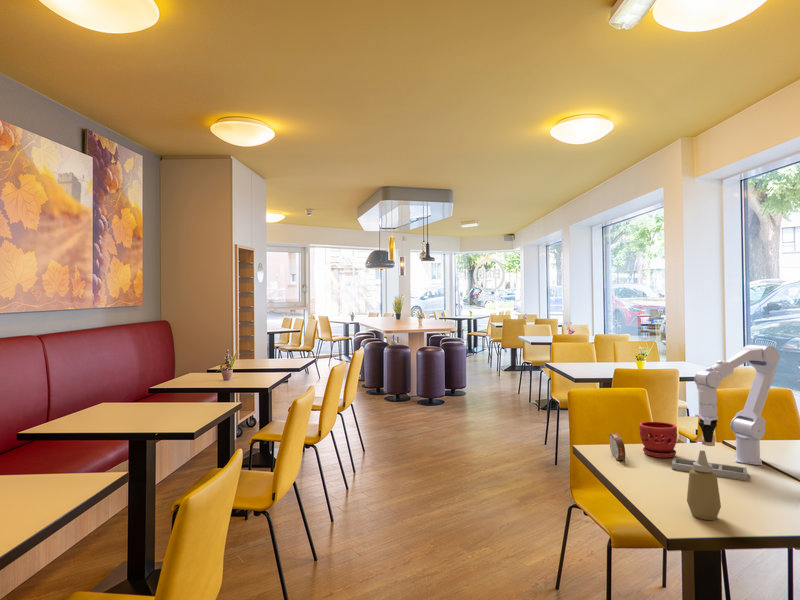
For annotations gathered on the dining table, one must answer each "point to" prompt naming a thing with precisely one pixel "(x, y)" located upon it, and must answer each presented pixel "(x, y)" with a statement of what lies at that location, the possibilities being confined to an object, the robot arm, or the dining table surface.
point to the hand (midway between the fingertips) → (708, 440)
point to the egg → (708, 442)
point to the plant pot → (658, 438)
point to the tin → (617, 446)
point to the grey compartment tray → (717, 469)
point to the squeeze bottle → (703, 490)
